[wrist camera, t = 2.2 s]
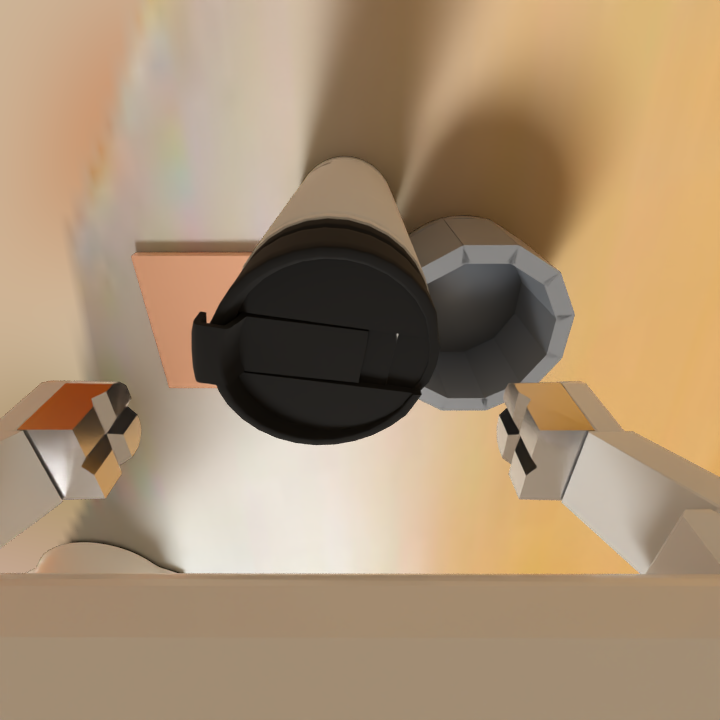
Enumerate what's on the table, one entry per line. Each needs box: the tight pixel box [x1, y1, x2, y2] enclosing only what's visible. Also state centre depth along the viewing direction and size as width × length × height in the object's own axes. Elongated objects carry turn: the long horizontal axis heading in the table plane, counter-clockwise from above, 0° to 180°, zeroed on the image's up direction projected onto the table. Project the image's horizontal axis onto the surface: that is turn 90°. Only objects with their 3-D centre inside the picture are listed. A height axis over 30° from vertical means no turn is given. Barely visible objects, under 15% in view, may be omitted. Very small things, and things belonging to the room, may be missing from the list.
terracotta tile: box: [131, 252, 252, 388], centre depth 32 cm, size 11×11×1 cm
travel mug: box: [191, 156, 440, 445], centre depth 19 cm, size 6×7×20 cm
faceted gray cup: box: [409, 215, 575, 410], centre depth 28 cm, size 11×11×7 cm
